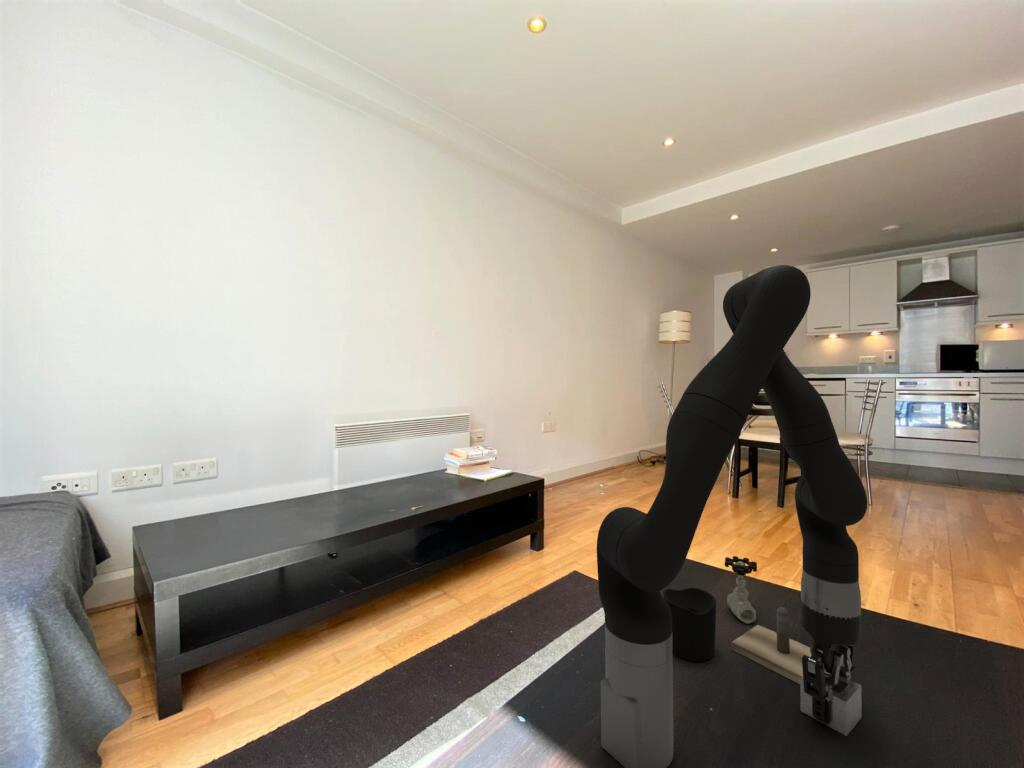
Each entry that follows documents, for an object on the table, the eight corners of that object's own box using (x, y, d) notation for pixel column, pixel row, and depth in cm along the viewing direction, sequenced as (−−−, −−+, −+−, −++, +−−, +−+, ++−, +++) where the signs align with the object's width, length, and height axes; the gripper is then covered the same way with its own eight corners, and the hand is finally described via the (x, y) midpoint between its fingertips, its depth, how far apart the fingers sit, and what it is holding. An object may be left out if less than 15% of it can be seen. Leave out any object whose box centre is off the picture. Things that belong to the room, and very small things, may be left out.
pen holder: (709, 671, 79) (709, 615, 78) (657, 651, 84) (656, 599, 84) (721, 645, 86) (721, 594, 86) (672, 629, 92) (672, 581, 92)
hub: (846, 736, 64) (846, 702, 64) (800, 710, 69) (800, 679, 69) (861, 717, 67) (861, 685, 67) (816, 694, 72) (816, 664, 72)
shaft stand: (814, 691, 73) (814, 634, 73) (731, 649, 85) (731, 600, 84) (838, 668, 79) (838, 615, 79) (757, 631, 90) (757, 585, 90)
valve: (750, 609, 99) (749, 556, 99) (764, 625, 92) (763, 568, 92) (719, 608, 100) (719, 555, 100) (731, 624, 93) (730, 568, 93)
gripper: (840, 629, 61) (841, 750, 61) (876, 598, 69) (877, 704, 69) (781, 606, 67) (782, 716, 67) (821, 580, 75) (822, 678, 75)
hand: (830, 710), depth 68 cm, fingers closed on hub, 6 cm apart
